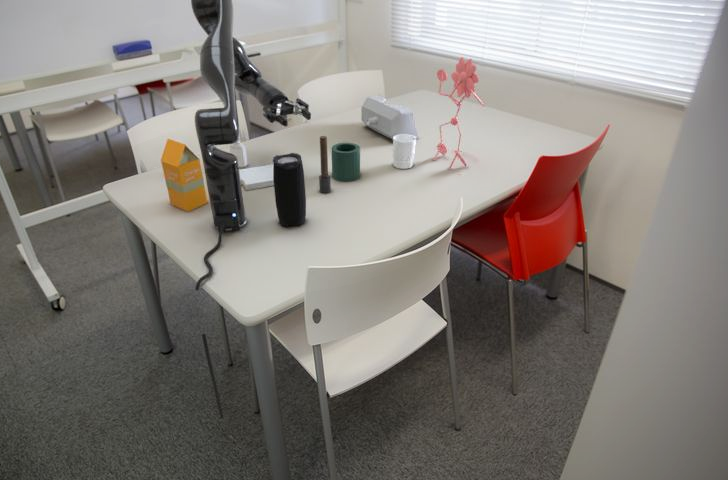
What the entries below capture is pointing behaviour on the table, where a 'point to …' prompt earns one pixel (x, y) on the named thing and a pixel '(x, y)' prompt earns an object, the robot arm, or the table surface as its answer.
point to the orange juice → (183, 176)
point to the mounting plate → (257, 177)
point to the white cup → (403, 150)
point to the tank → (387, 117)
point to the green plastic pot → (345, 161)
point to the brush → (324, 167)
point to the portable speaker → (289, 189)
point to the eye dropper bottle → (239, 153)
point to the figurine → (463, 83)
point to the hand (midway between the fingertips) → (298, 120)
